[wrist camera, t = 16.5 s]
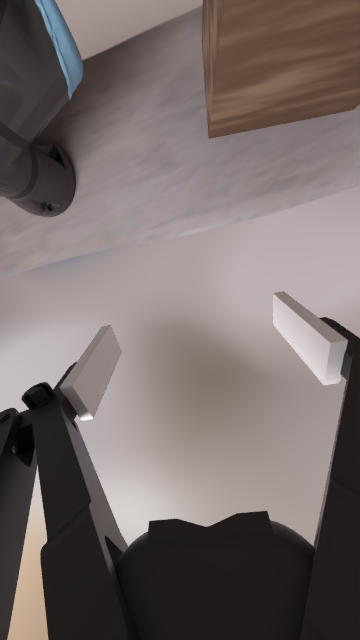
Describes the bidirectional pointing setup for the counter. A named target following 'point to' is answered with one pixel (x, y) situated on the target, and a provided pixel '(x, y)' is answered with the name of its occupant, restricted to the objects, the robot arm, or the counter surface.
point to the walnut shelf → (278, 61)
